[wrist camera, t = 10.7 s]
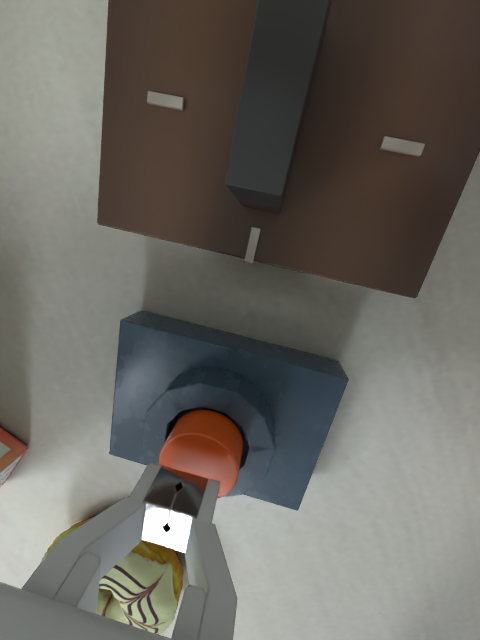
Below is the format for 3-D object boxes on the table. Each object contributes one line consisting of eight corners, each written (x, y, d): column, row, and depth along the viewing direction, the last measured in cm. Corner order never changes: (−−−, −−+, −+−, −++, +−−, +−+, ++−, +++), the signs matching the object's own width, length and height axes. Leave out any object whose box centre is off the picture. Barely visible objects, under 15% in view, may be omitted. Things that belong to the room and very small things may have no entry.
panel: (481, 45, 10) (565, -39, 7) (385, 290, 13) (417, 302, 10) (153, -8, 11) (109, -102, 8) (132, 231, 14) (93, 226, 11)
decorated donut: (179, 610, 23) (161, 679, 19) (68, 575, 23) (30, 634, 20) (195, 527, 20) (177, 590, 16) (66, 491, 20) (21, 542, 17)
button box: (338, 360, 15) (361, 400, 11) (295, 479, 17) (300, 545, 13) (141, 310, 15) (96, 330, 12) (128, 430, 18) (88, 479, 14)
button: (250, 420, 12) (246, 447, 10) (234, 477, 13) (228, 510, 12) (178, 400, 12) (163, 423, 11) (168, 457, 13) (153, 487, 12)
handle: (279, 214, 10) (281, 195, 7) (240, 205, 10) (222, 182, 7) (327, 22, 8) (364, -145, 5) (279, 15, 9) (282, -154, 5)
